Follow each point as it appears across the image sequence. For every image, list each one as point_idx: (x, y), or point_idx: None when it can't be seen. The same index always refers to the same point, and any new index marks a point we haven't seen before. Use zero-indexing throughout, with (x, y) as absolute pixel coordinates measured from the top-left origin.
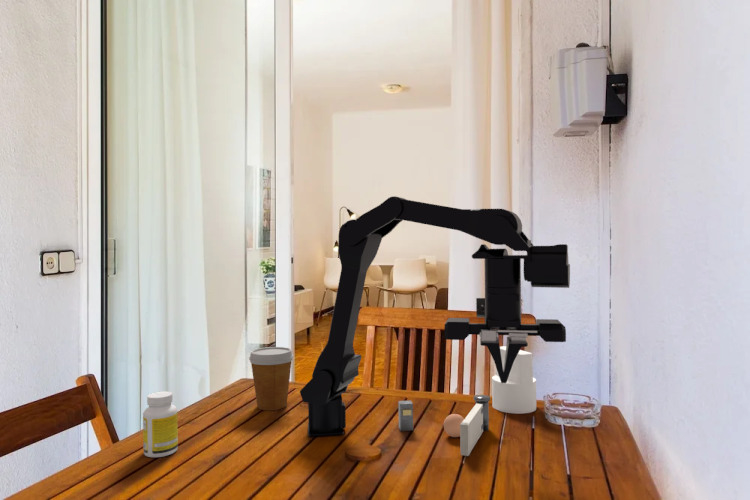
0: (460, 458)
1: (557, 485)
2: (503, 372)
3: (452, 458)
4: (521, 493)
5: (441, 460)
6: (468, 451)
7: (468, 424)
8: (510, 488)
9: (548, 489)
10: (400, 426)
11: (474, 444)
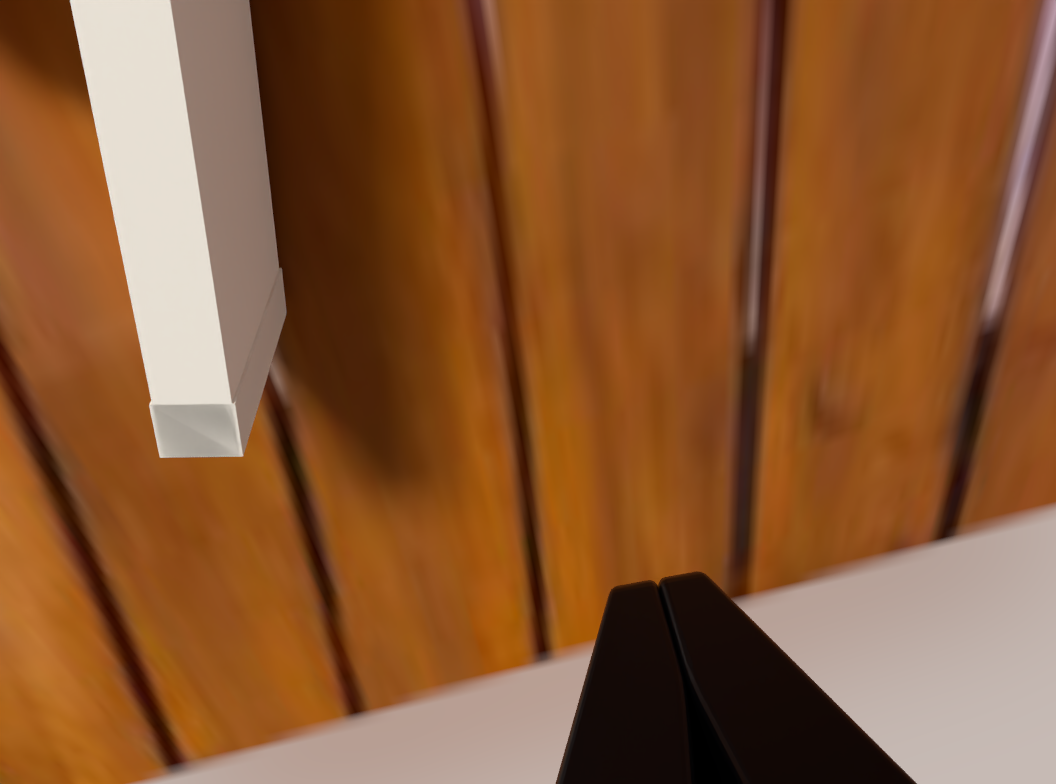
0: None
1: (889, 484)
2: (693, 717)
3: None
4: None
5: (121, 406)
6: (280, 325)
7: (238, 439)
8: None
9: (832, 540)
10: None
11: (255, 79)
